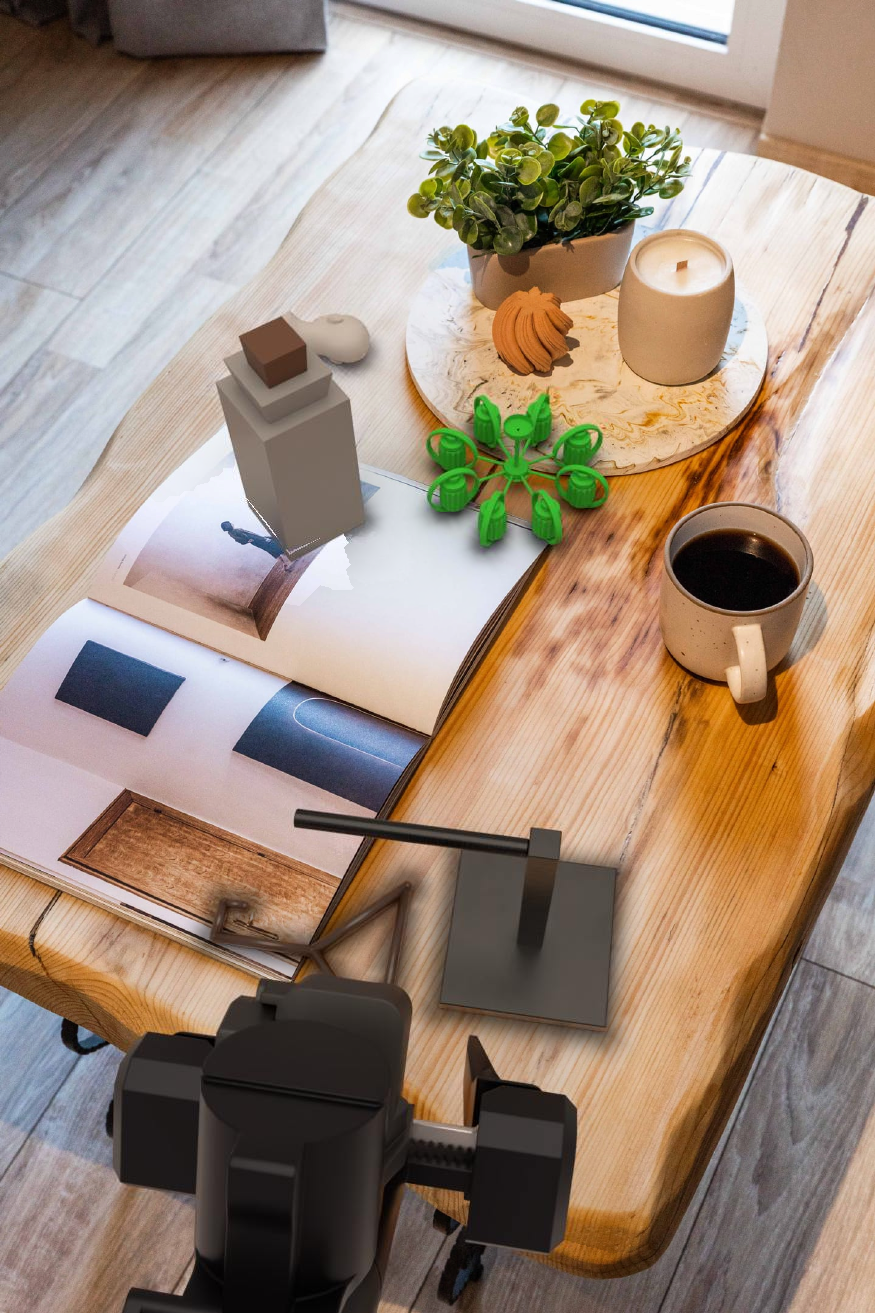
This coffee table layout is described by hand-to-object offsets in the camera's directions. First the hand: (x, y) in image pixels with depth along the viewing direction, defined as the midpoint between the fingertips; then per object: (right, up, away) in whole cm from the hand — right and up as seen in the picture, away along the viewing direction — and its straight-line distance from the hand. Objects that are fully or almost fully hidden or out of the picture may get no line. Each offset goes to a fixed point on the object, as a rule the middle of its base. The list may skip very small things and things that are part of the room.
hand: (377, 1029), depth 54 cm
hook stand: (+5, +1, +16) cm, 17 cm away
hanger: (+1, -1, +15) cm, 15 cm away
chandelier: (+9, +32, +35) cm, 48 cm away
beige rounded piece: (-7, +45, +44) cm, 63 cm away
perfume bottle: (-7, +29, +34) cm, 46 cm away
